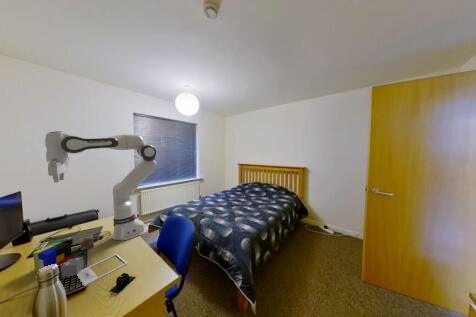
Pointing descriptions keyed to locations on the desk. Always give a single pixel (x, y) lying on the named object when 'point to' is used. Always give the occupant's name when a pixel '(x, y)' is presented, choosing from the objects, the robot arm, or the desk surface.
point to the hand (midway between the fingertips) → (59, 181)
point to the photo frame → (89, 276)
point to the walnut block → (87, 242)
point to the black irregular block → (122, 283)
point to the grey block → (72, 267)
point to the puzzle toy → (52, 255)
